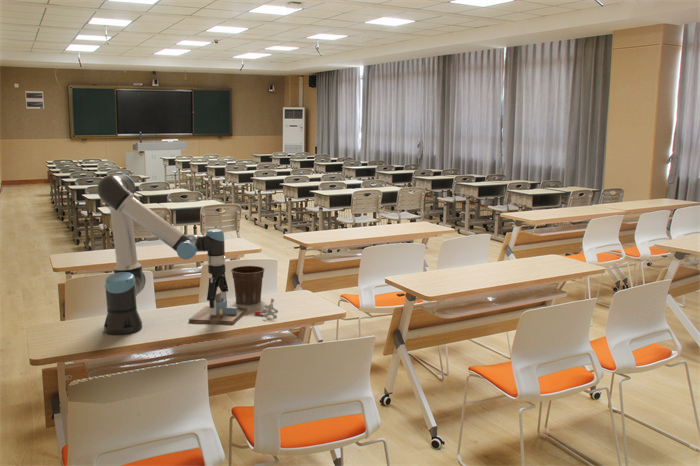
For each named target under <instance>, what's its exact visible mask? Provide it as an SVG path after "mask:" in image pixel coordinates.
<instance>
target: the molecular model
mask: <svg viewBox="0 0 700 466" xmlns="http://www.w3.org/2000/svg"><path fill="white" fill-rule="evenodd" d="M274 302H275V298H271V299H270V303H269V304H266V305H265V306H264V308H262V310H256V311H255V312H254V316H259V315H261V314H262V317H264V318H266V316H267V315H271V316H273V318H278V315H277V314H274V313H278V312H279V310H278V309H277V308H274ZM272 310H273V311H274V313H273V311H272Z"/></svg>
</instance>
